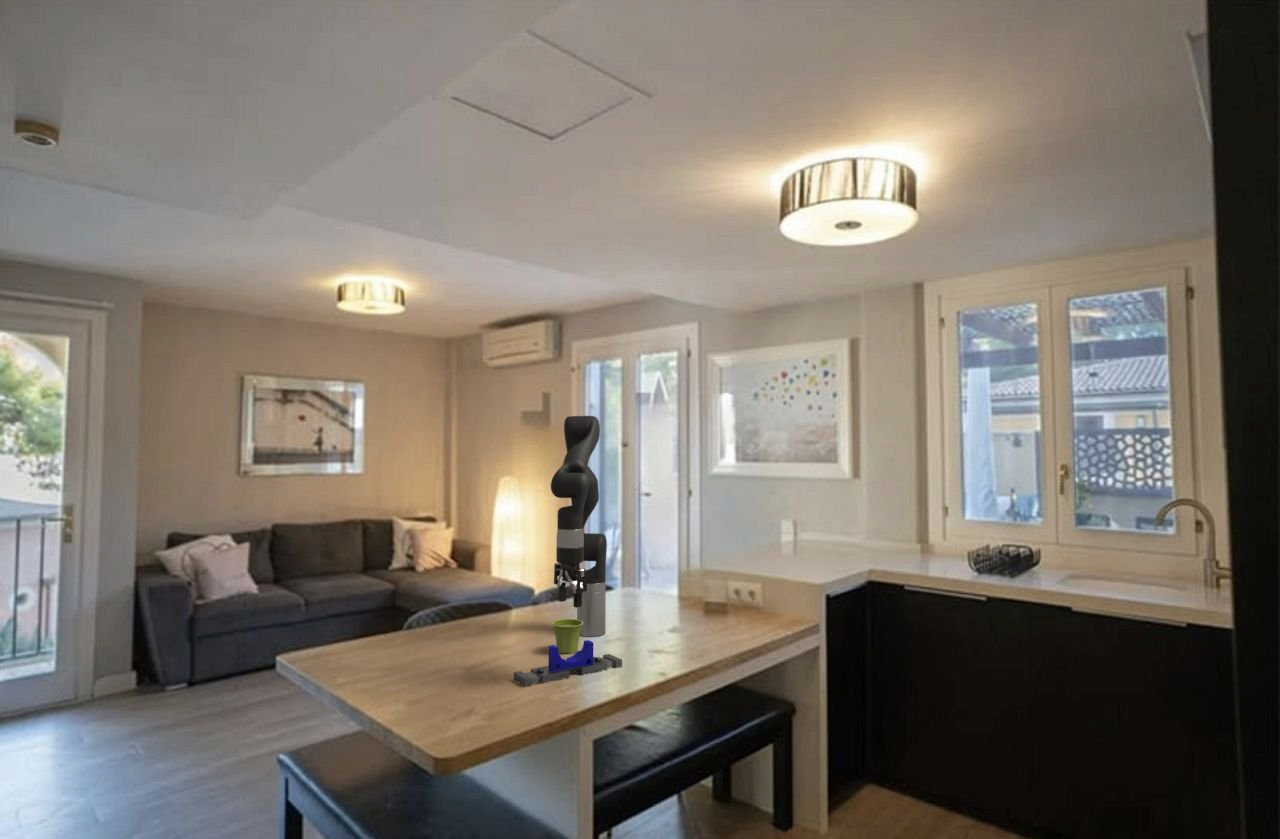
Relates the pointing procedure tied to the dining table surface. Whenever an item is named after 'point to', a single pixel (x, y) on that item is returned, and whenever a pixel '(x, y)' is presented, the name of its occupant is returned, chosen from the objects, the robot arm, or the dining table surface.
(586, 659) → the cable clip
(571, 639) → the plant pot
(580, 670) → the grey slotted plastic plates
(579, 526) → the robot arm
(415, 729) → the dining table surface
